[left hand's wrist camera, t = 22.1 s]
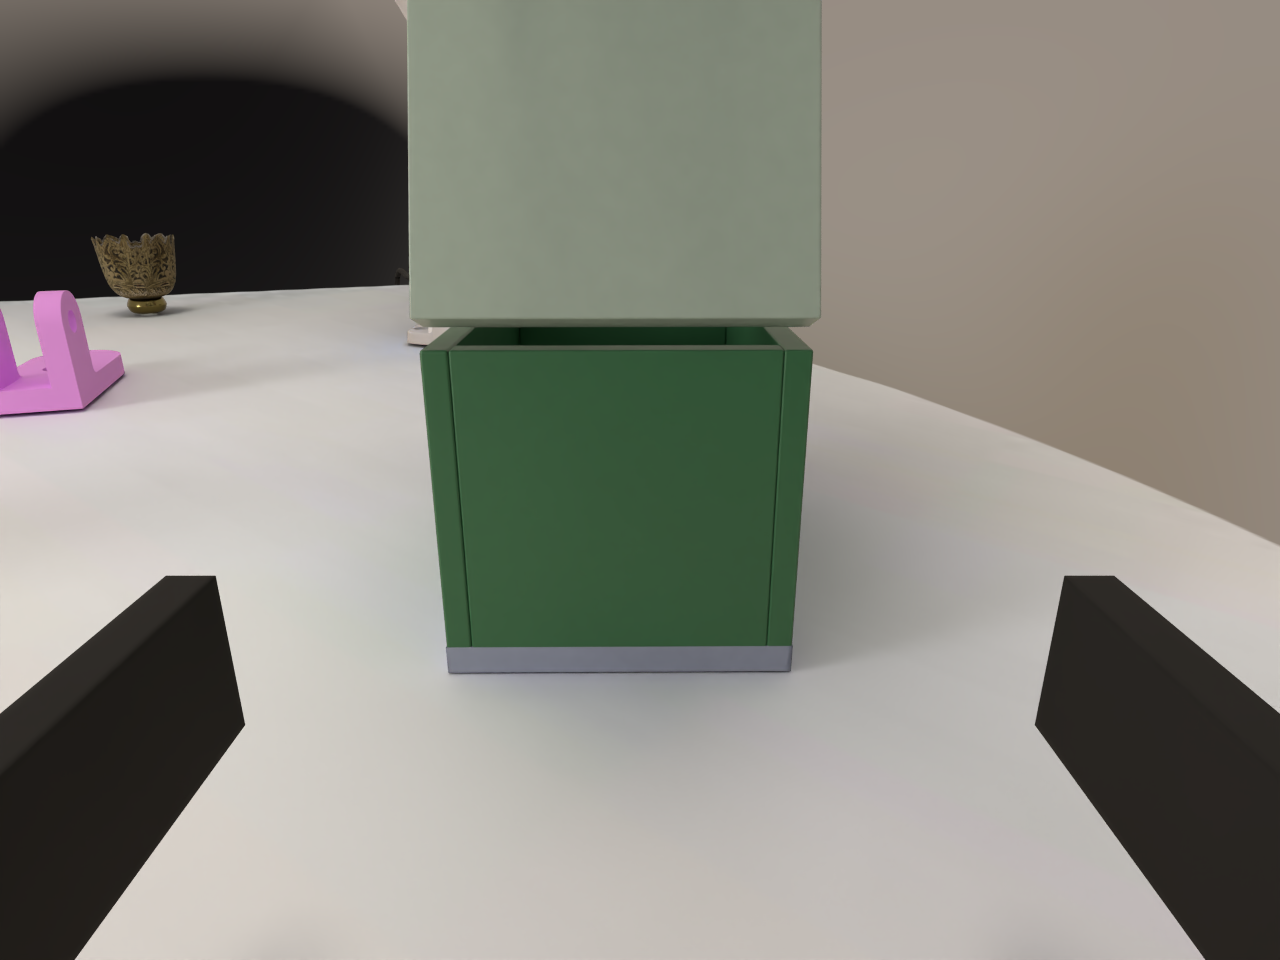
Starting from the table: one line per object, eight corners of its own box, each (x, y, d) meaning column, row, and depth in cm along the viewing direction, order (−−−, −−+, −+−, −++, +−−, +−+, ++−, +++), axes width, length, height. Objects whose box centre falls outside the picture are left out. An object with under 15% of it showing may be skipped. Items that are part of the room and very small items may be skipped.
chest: (513, 500, 37) (501, 285, 33) (735, 499, 37) (744, 285, 34) (448, 672, 24) (417, 350, 21) (790, 671, 24) (814, 350, 21)
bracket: (83, 408, 51) (55, 294, 48) (-24, 416, 49) (-58, 298, 47) (132, 366, 62) (112, 272, 60) (47, 371, 61) (23, 275, 58)
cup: (105, 319, 83) (87, 238, 81) (110, 310, 90) (94, 234, 87) (187, 314, 87) (172, 235, 84) (187, 305, 93) (173, 232, 90)
